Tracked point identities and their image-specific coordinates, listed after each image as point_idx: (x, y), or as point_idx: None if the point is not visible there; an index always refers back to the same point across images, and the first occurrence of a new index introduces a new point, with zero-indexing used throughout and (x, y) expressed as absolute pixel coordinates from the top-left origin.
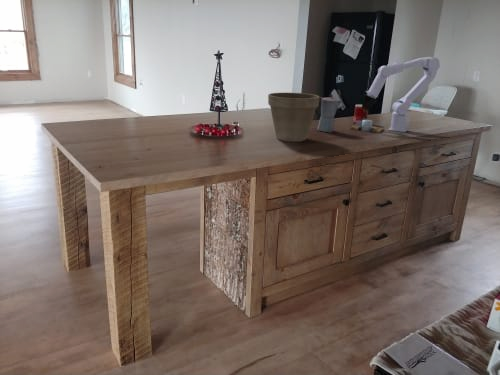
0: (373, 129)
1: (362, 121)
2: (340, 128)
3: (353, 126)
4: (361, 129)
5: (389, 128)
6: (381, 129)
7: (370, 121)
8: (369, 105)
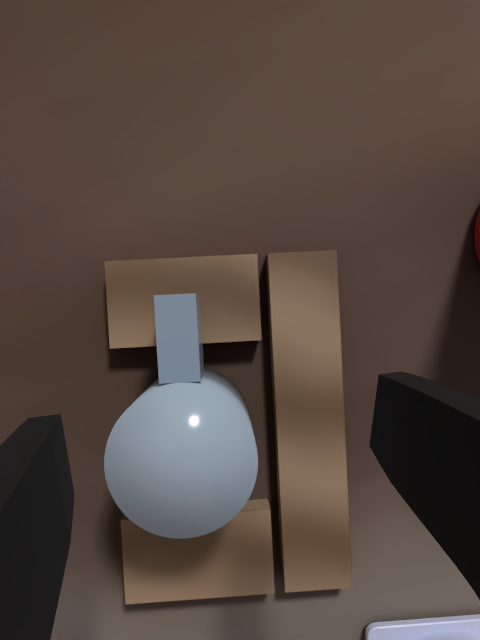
0: None
1: (137, 399)
2: (69, 153)
3: (167, 273)
4: (157, 379)
5: (426, 626)
6: (241, 594)
7: (136, 524)
8: (451, 520)
